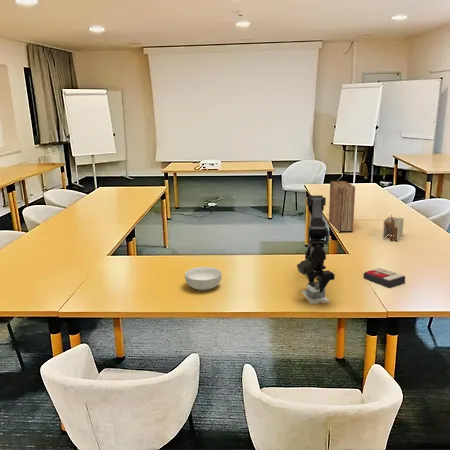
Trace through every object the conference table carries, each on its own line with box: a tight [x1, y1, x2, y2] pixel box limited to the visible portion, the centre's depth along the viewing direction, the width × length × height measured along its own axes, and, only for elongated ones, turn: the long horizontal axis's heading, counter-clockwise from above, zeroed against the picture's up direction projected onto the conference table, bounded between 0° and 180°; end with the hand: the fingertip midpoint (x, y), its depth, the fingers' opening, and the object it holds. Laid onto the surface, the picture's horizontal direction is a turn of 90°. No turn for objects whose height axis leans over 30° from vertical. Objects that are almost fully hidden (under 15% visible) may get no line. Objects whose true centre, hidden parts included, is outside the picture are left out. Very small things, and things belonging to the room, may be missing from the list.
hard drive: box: [301, 289, 330, 305], centre depth 191 cm, size 2×8×12 cm
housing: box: [306, 280, 326, 299], centre depth 190 cm, size 6×5×6 cm
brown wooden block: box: [328, 179, 356, 233], centre depth 294 cm, size 25×9×30 cm, turn 2°
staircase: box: [382, 214, 404, 242], centre depth 269 cm, size 9×11×17 cm
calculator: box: [363, 267, 406, 289], centre depth 207 cm, size 11×4×15 cm
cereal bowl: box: [184, 266, 222, 291], centre depth 204 cm, size 17×17×7 cm
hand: (316, 289), depth 190 cm, fingers open, 8 cm apart
